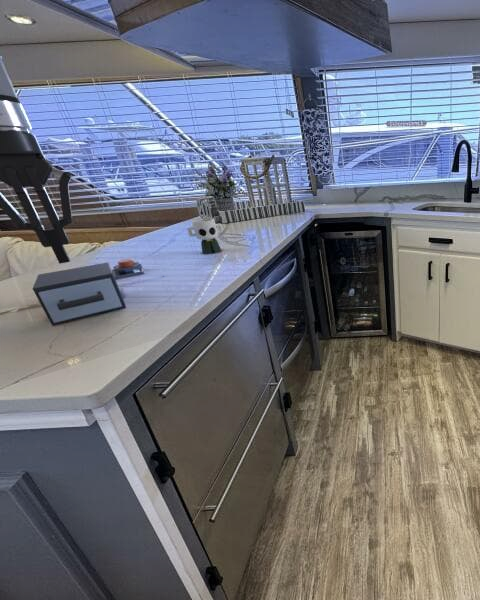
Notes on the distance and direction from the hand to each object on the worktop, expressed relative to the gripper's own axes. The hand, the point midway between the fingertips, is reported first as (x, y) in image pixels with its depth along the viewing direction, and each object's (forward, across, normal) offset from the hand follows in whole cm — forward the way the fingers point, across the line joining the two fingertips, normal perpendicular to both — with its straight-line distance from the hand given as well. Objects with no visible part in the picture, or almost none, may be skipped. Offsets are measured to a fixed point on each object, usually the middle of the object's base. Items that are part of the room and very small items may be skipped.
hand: (64, 261), depth 65 cm
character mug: (+14, +35, +40) cm, 55 cm away
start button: (+10, +10, +32) cm, 35 cm away
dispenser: (+13, 0, +10) cm, 17 cm away
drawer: (+12, 0, +6) cm, 14 cm away
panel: (+13, +7, +32) cm, 35 cm away
